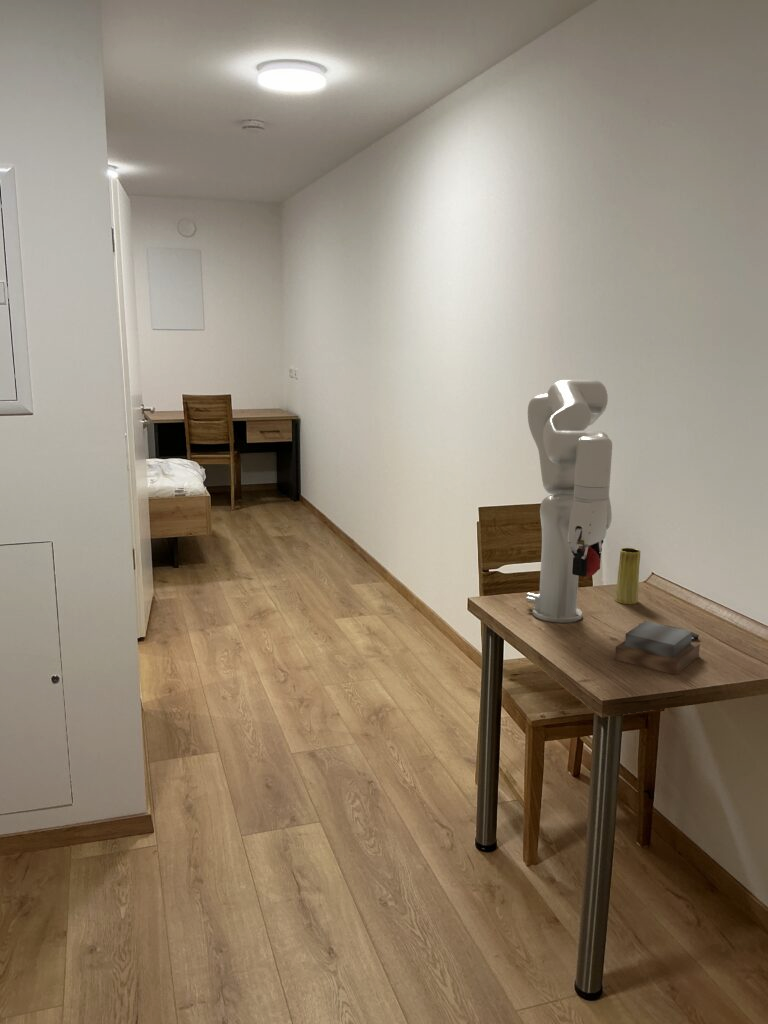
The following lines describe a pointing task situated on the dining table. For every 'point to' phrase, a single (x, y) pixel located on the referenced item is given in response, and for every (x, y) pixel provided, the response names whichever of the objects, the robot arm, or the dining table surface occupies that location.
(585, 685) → the dining table surface
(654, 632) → the wood and metal stack
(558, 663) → the dining table surface
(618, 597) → the vase
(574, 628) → the dining table surface
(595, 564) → the onion
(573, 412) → the robot arm
